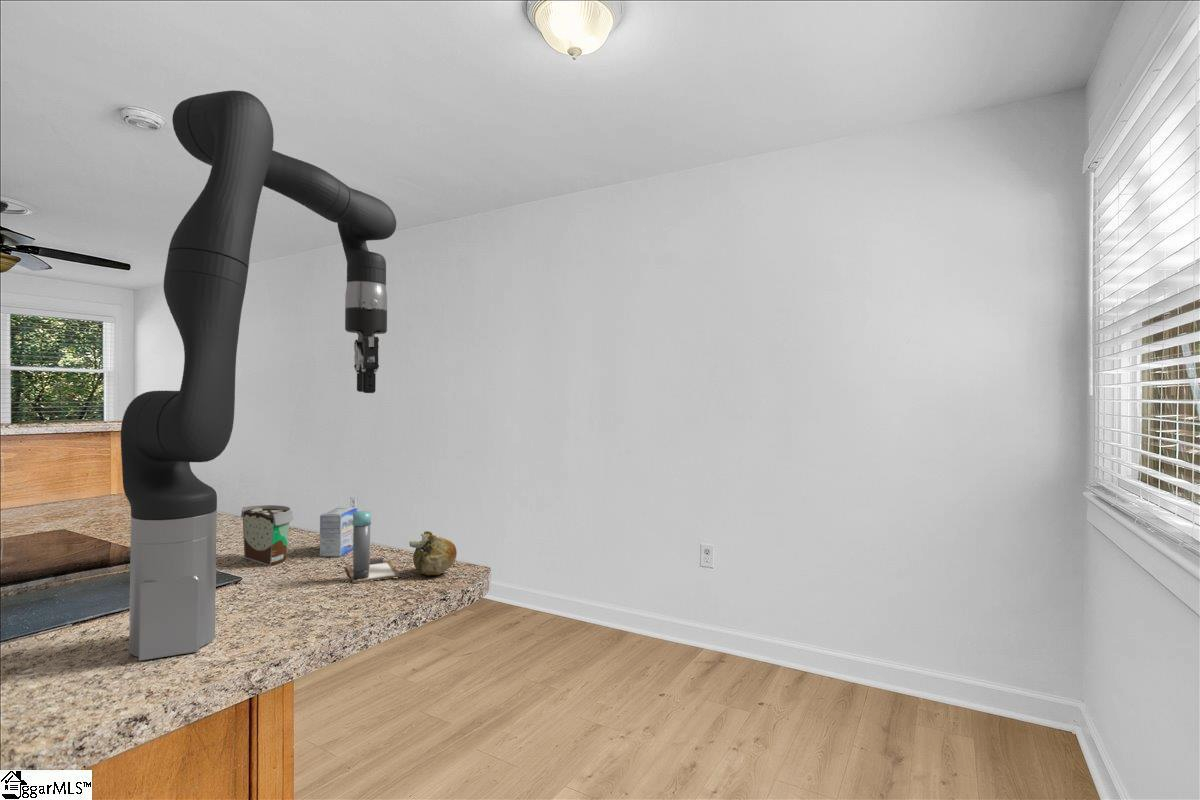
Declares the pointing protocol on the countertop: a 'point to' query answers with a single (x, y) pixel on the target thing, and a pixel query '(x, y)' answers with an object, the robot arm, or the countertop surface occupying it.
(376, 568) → the clipboard
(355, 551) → the marker
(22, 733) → the countertop surface
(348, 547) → the medicine box
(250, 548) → the food container
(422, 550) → the onion
